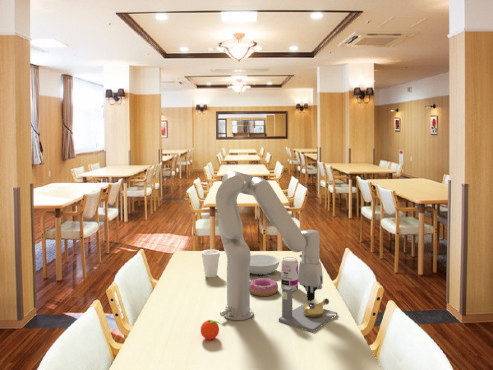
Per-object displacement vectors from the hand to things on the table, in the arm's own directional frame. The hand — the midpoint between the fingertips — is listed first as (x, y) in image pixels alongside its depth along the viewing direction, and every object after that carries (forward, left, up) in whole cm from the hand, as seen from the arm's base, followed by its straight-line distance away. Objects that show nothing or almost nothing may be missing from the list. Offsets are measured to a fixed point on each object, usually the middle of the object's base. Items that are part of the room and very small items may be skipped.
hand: (310, 300), depth 193 cm
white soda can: (+15, +21, -4) cm, 26 cm away
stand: (-9, -4, -4) cm, 11 cm away
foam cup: (+6, +65, -4) cm, 65 cm away
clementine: (-47, +15, -4) cm, 49 cm away
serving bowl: (+27, +48, -4) cm, 55 cm away
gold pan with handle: (-3, -5, -3) cm, 6 cm away
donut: (+4, +29, -5) cm, 29 cm away
